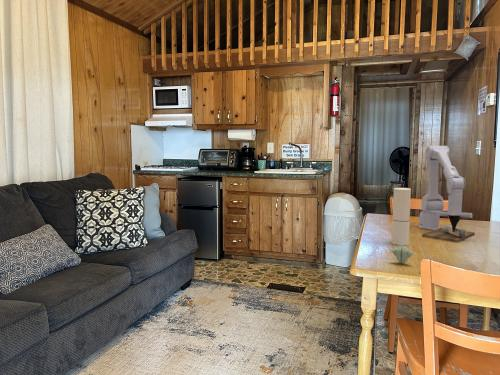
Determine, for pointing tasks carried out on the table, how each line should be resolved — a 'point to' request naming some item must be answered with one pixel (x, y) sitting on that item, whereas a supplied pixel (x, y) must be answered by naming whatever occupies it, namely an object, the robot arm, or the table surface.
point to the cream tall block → (401, 216)
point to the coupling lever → (457, 232)
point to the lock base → (446, 235)
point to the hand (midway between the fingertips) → (453, 231)
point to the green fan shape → (402, 254)
